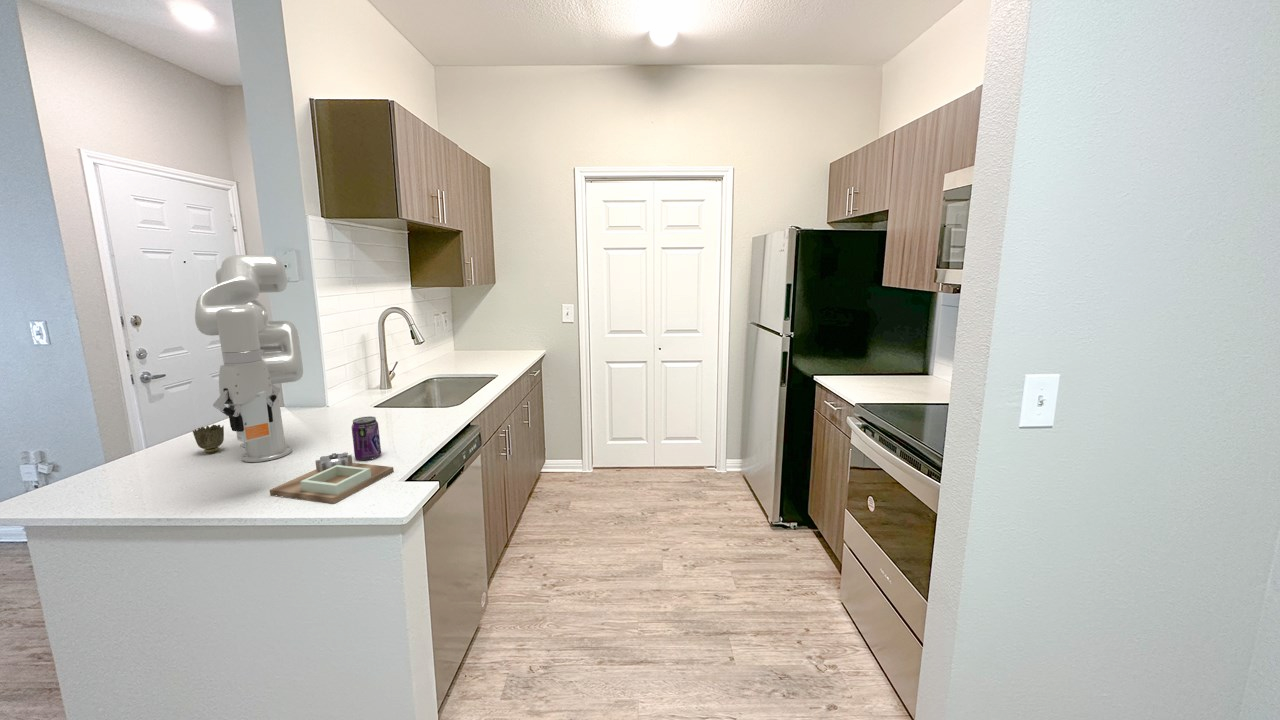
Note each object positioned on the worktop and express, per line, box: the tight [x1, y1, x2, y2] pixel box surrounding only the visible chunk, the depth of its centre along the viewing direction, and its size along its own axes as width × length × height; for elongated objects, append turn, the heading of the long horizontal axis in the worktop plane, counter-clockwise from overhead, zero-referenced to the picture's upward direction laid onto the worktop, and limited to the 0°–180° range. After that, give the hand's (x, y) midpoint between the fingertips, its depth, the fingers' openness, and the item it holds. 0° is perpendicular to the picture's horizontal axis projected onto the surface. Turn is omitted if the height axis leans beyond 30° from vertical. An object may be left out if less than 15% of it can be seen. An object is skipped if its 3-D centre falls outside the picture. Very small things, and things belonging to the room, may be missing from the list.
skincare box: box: [234, 391, 271, 443], centre depth 126 cm, size 6×4×12 cm
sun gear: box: [314, 452, 353, 472], centre depth 140 cm, size 9×9×4 cm
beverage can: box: [351, 416, 382, 461], centre depth 151 cm, size 7×7×12 cm
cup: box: [192, 424, 225, 454], centre depth 157 cm, size 8×7×8 cm
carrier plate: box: [269, 462, 395, 505], centre depth 133 cm, size 20×20×2 cm
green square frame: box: [300, 465, 371, 495], centre depth 129 cm, size 11×11×2 cm
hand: (253, 425), depth 127 cm, fingers closed on skincare box, 6 cm apart
